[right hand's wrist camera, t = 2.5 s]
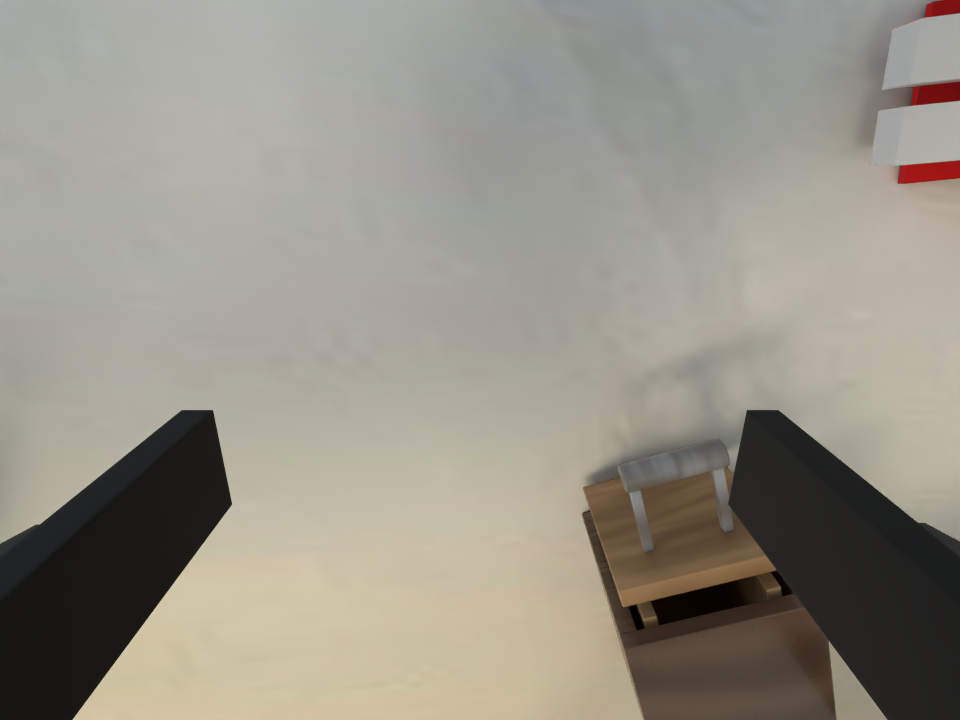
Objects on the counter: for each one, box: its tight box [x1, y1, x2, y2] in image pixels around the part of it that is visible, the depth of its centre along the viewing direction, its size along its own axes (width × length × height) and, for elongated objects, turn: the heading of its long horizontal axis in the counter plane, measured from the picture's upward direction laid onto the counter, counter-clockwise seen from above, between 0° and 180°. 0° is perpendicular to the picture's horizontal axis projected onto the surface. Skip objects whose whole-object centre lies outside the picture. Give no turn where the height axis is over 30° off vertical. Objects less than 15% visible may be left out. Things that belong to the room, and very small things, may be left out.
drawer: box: [583, 439, 782, 631], centre depth 33 cm, size 21×10×10 cm, turn 17°
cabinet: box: [582, 511, 836, 720], centre depth 35 cm, size 16×11×12 cm, turn 17°
